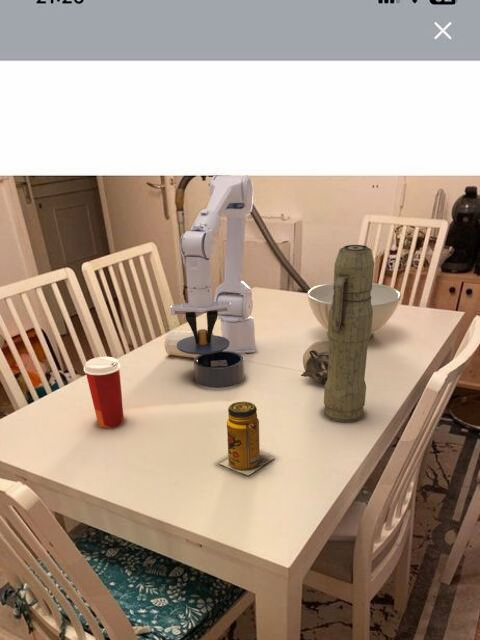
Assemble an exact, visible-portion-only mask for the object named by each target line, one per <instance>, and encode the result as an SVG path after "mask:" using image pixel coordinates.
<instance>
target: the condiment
mask: <svg viewBox="0 0 480 640" xmlns="http://www.w3.org/2000/svg"><path fill="white" fill-rule="evenodd" d="M227 411H228V414H227V417H228V418H227V420H226V435H227V438H226V439H227V455H228V457H227V459H225V460H223V461H222V462H220V463H218V464H219V465H221V466H223V467H226V468H228V469H230V470H232V471H235V472H237V473H240V474H243V475H246V476H250V475H252V474H253V473H255V472H256V471H258V470H260V469H261V468H262V467H264V466H265V465H266V464H268V463H270V462H272V460H273V459H275V458H276V456H273V455H269V454H266V453H263V452H261V449H260V420H259V418H258V413H257V411H258V409H257V406H256V405H255V403H252V402H249V401H236V402H233V403H231V404H230V405H229V406H228V408H227Z"/></svg>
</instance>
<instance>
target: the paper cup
mask: <svg viewBox="0 0 480 640" xmlns="http://www.w3.org/2000/svg"><path fill="white" fill-rule="evenodd" d="M120 369H121V364H120V363H119V360H118V359H117V358H115V357H113V356H97V357H94V358H91V359H88V360H87V361H86V362H85V364H84V367H83V372H84V373H85V375H86V379H87V383H88V388H89V391H90V396H91V400H92V404H93V408H94V412H95V417H96V421H97V424H98V426H99V427H100V428H103V429H112V428H117V427H119V426H121V425H123V423H124V405H123V396H122V395H123V394H122V382H121V371H120Z"/></svg>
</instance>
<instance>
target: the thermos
mask: <svg viewBox="0 0 480 640" xmlns="http://www.w3.org/2000/svg"><path fill="white" fill-rule="evenodd" d="M372 250H373V249H372V248H371V247H369V246H367V245H363V244H348V245H343V247H341V248H339V250H338V252H337V255H336V258H335V262H334V265H333V266H334V267H333V268H334V269H333V283H334V284H333V289H334V295H333V301H332V304H331V307H330V310H329V319H328V330H327V338H328V340H330V343H329V362H328V379H327V382H325V384H324V390H323V405H324V410H323V415H324V417H326V419H328V420H330V421H334V422H337V423H352V422H357V421H359V420H361V419H362V418H363V417H364V407H365V404H366V396H367V395H366V394H367V383H366V381H365V377H366V368H367V367H366V366H367V357H368V356H367V355H368V346H369V345H368V344H369V341H370V339H371V337H372V335H371V328H372V317H373V309H372V304H371V295H370V294H371V290H372V283H374V270H375V260H374V259H375V258H374V255H373V251H372Z"/></svg>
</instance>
